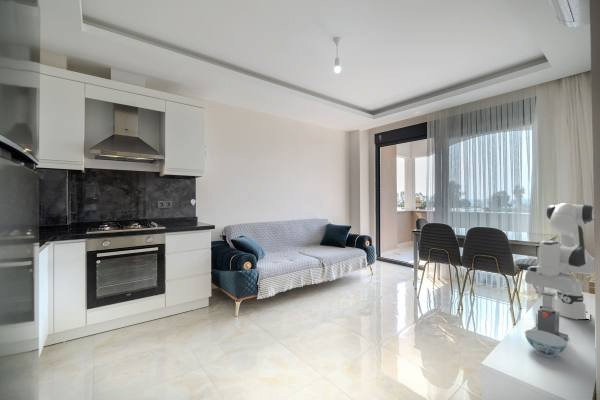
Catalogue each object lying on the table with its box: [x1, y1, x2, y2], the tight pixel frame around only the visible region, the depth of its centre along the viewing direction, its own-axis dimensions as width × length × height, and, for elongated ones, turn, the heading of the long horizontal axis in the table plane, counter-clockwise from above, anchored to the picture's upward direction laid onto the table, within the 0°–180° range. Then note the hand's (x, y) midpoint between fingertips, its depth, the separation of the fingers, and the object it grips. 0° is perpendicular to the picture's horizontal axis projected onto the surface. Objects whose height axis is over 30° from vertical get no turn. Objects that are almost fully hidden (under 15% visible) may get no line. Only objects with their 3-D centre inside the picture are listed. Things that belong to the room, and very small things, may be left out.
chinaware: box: [524, 329, 568, 358], centre depth 131 cm, size 15×15×8 cm
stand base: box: [530, 308, 569, 341], centre depth 147 cm, size 13×13×14 cm
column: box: [541, 290, 557, 314], centre depth 147 cm, size 5×5×22 cm
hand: (548, 295), depth 147 cm, fingers open, 8 cm apart
